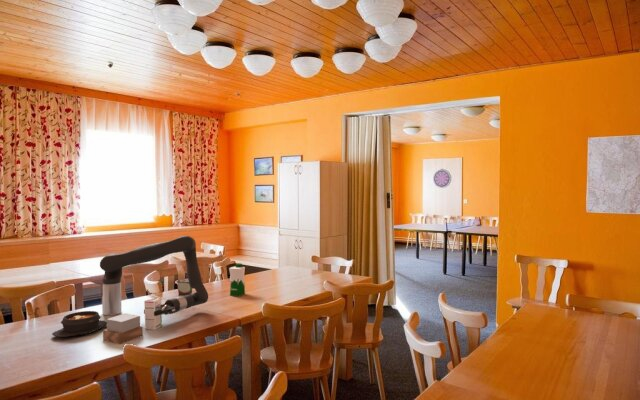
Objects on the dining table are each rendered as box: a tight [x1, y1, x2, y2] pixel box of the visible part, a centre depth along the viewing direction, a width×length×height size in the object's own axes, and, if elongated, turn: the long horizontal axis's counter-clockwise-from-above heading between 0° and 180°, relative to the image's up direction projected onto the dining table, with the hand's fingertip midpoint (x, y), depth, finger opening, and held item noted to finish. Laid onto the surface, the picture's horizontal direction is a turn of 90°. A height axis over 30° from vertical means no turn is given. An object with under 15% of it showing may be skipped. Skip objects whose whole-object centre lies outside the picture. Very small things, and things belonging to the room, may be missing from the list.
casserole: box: [51, 310, 107, 338], centre depth 205 cm, size 25×19×8 cm
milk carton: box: [228, 262, 246, 297], centre depth 277 cm, size 9×9×20 cm
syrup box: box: [143, 297, 163, 331], centre depth 210 cm, size 6×6×14 cm
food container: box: [176, 278, 193, 297], centre depth 277 cm, size 12×6×10 cm, turn 65°
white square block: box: [106, 313, 141, 333], centre depth 196 cm, size 10×10×5 cm
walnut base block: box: [102, 325, 144, 345], centre depth 196 cm, size 12×12×5 cm
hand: (149, 312), depth 208 cm, fingers closed on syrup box, 7 cm apart
